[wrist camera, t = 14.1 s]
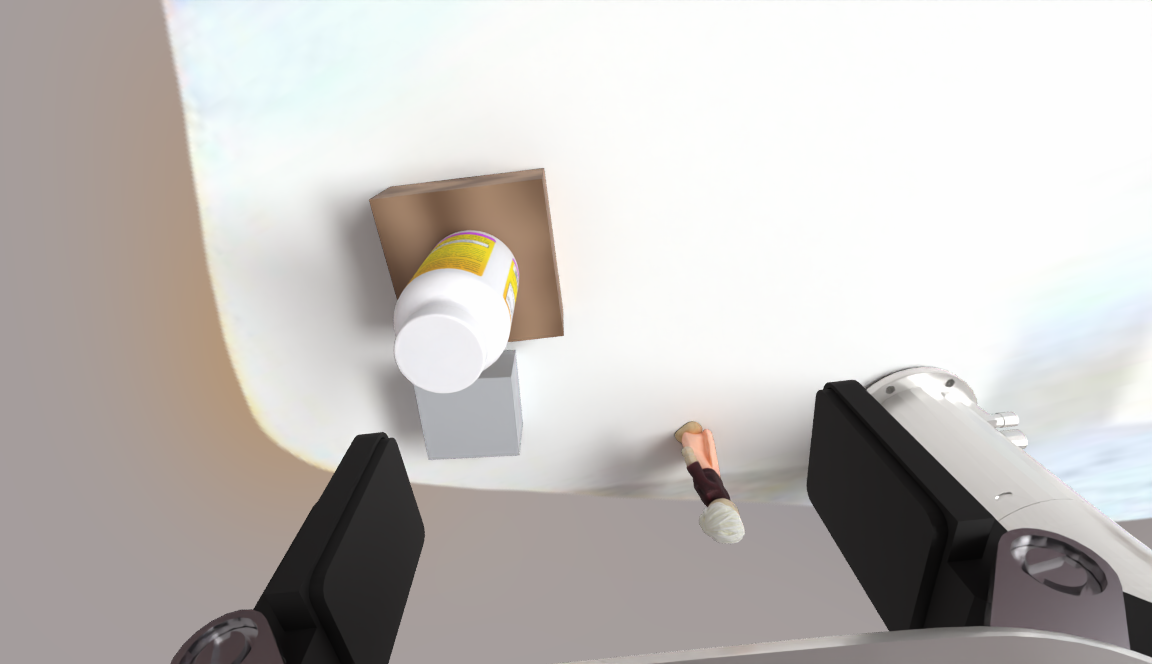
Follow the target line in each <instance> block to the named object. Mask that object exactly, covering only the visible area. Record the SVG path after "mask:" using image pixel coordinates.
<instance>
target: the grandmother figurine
mask: <svg viewBox="0 0 1152 664" xmlns="http://www.w3.org/2000/svg"><path fill="white" fill-rule="evenodd" d="M675 438H676V439H677V441H679V442H680V443H682V445H683V447H684V448H683V449H682V455H683V457H684V458H685V463H686V465H687V470H688V472H689V473H690V474H691V476H692V477H693V482H694V488H695V490H696V491H697V493H698V495H699V496H700V498H701V500H702V501H703V503H704V504H705V505H706V506H707V507H708V508H706V509H704V511H703V514H701V516H700V518H699V525H700V526H701V528H702V530H703V531H704V533H705V534H707V535H708V536H710V537H712V538H713V539H714V540H715V541H716V542H718V543H728V544H732V543H737V542H739V541H740V540H741V539H742V538H743V536H744V534H745V530H744V526H743V523H742V521H741V519H740V515H739V511H738V509H737V507H736V505H735V504H734V503H733V502H731V500H730V497H729V494H728V492H727V491H726V489H725V488H724V486H723V483H722V480H721V478H720V471H719V466H718V460H717V455H716V448H715V444H714V439H713V436H712V433H711V431H710V430H709V429H705V430H704V431H703V432H702V427H701V425H700V424H699V423H697V422H689V423H687V424H685V425H684V426H683V427H682V428H680V429H679V430H678V431H677V432H676V433H675Z"/></svg>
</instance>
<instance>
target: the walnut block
mask: <svg viewBox="0 0 1152 664" xmlns="http://www.w3.org/2000/svg"><path fill="white" fill-rule="evenodd" d="M369 202H370V205H371V209H372V212H373V216H374V219H375V223H376V226H377V230H378V233H379V237H380V241H381V244H382V248H383V251H384V255H385V258H386V262H387V265H388V269H389V272H390V276H391V280H392V283H393V287H394V290H395V294H396V297H397V301H398V299H399V297H400V295H401V293H402V292H403V290H404V289H405V287H406V286H407V284H408V283H409V282H410V280H411V279H412V278H413V276H414V275H415V273H416V272H417V271H418V269H419V268H420V266H421V265H422V264H423V262H424V261H425V259H426V258H427V257H428V255H429V254H430V253H431V251H432V250H433V249H434V247H435V246H436V245H437V244H438V243H439V242H440V241H441V240H443V239H444V238H445V237H447V236H449V235H451V234H453V233H456V232H460V231H466V230H475V231H481V232H485V233H488V234H490V235H492V236H494V237H496V238H498V239H499V240H500V241H502V242H503V243H504V244H505V245H506V246H507V247H508V248H509V250H510V251H511V252H512V254H513V256H514V258H515V260H516V262H517V265H518V270H519V286H518V291H517V297H516V302H515V307H514V313H513V318H512V324H511V330H510V335H509V339H508V342H513V341H522V340H531V339H539V338H548V337H557V336H564V328H563V306H562V298H561V291H560V283H559V276H558V268H557V261H556V253H555V246H554V239H553V231H552V224H551V216H550V209H549V201H548V194H547V186H546V179H545V171H544V168H541V169H533V170H525V171H516V172H508V173H500V174H492V175H483V176H475V177H467V178H459V179H451V180H442V181H434V182H426V183H418V184H409V185H401V186H393V187H389V188H388V189H386V190H384V191H383V192H381V193H379V194H378V195H376V196H374V197H373V198H371V199H369Z"/></svg>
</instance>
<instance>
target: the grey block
mask: <svg viewBox="0 0 1152 664" xmlns="http://www.w3.org/2000/svg"><path fill="white" fill-rule="evenodd" d="M413 385H414V384H413ZM414 390H415V395H416V400H417V405H418V410H419V415H420V420H421V425H422V429H423V434H424V439H425V444H426V449H427V454H428V459H429V460H436V459H456V458H476V457H497V456H517V455H520V445H521V436H522V427H523V420H522V410H521V400H520V389H519V379H518V369H517V359H516V350H504V351H503V353H502V354H501V356H500V357H499V358H498V359H497V360H496V361H495V362H494V363H493V364H492V365H491V366H489V367H488V368H487V369H485V370H483V371H482V373H481V374H480V376H479V377H478V379H477V380H476V381H475V382H474V383H473V384H471V385H470V386H469V387H467V388H465V389H463V390H460V391H457V392H453V393H434V392H430V391H427V390H424V389H422V388H419V387H417V386H416V385H414Z"/></svg>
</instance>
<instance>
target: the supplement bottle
mask: <svg viewBox="0 0 1152 664" xmlns="http://www.w3.org/2000/svg"><path fill="white" fill-rule="evenodd" d="M518 286H519V270H518V265H517V262H516V260H515V258H514V256H513V254H512V252H511V251H510V250H509V248H508V247H507V246H506V245H505V244H504V243H503V242H502V241H500V240H499V239H498V238H496V237H494V236H492V235H490V234H488V233H485V232H481V231H475V230H466V231H460V232H456V233H453V234H451V235H449V236H447V237H445V238H444V239H443V240H441V241H440V242H439V243H438V244H437V245H436V246H435V247H434V249H433V250H432V251H431V253H430V254H429V255H428V257H427V258H426V259H425V261H424V262H423V264H422V265H421V266H420V268H419V269H418V271H417V272H416V273H415V275H414V276H413V278H412V279H411V280H410V282H409V283H408V284H407V286H406V287H405V289H404V290H403V292H402V293H401V295H400V297H399V299H398V301H397V303H396V306H395V310H394V317H393V323H394V331H395V335H396V339H395V343H394V357H395V361H396V363H397V366H398V368H399V369H400V371H401V372H402V374H403V375H404V376H405V377H406V378H407V379H408V380H409V381H410V382H411V383H413V384H414V385H416V386H417V387H419V388H422V389H424V390H427V391H430V392H434V393H453V392H457V391H460V390H463V389H465V388H467V387H469V386H470V385H471V384H473V383H474V382H475V381H476V380H477V379H478V377H479V376H480V374H481V373H482V371H483V370H485V369H487V368H488V367H489V366H491V365H492V364H493V363H494V362H495V361H496V360H497V359H498V358H499V357H500V356H501V354H502V353H503V351H504V349H505V347H506V345H507V342H508V339H509V335H510V330H511V324H512V318H513V313H514V307H515V302H516V297H517V291H518Z"/></svg>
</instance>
